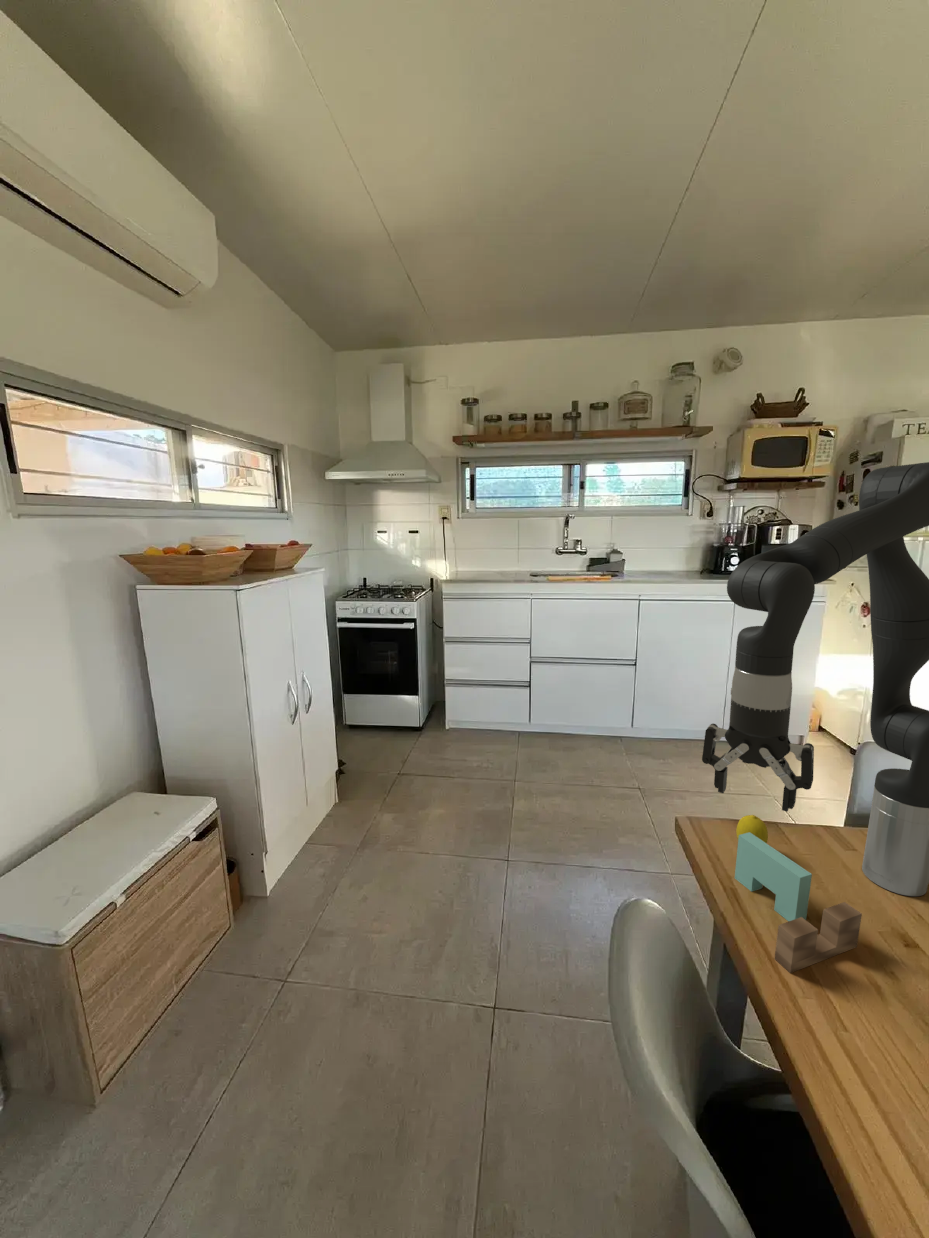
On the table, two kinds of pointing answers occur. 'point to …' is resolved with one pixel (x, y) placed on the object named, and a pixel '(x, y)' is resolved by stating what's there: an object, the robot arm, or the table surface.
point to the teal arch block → (773, 876)
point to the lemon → (752, 827)
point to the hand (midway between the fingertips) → (752, 799)
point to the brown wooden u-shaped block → (817, 937)
